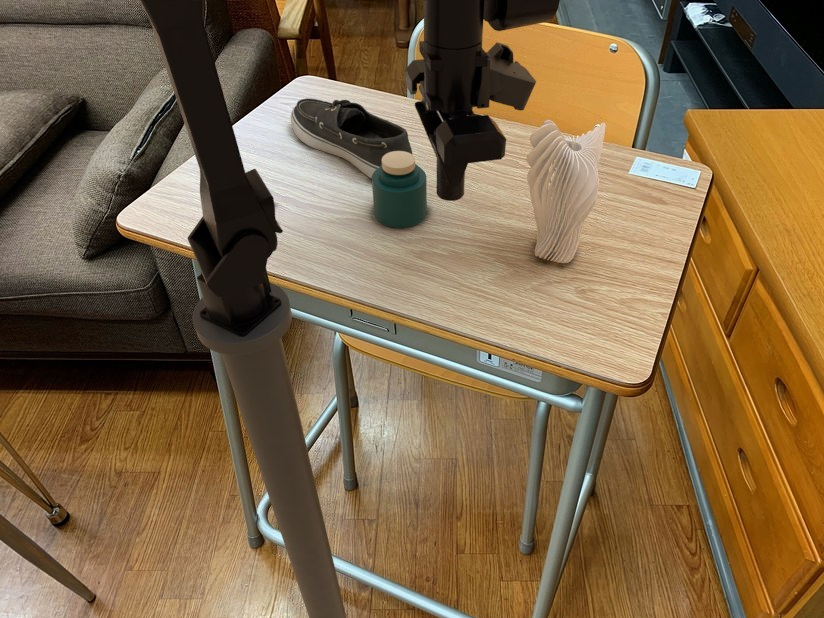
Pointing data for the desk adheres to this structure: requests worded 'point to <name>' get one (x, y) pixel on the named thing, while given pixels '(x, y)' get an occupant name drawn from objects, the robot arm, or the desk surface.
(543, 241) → the beige finned vase
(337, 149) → the boat shoe
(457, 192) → the flashlight
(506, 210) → the desk surface
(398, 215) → the bottle
